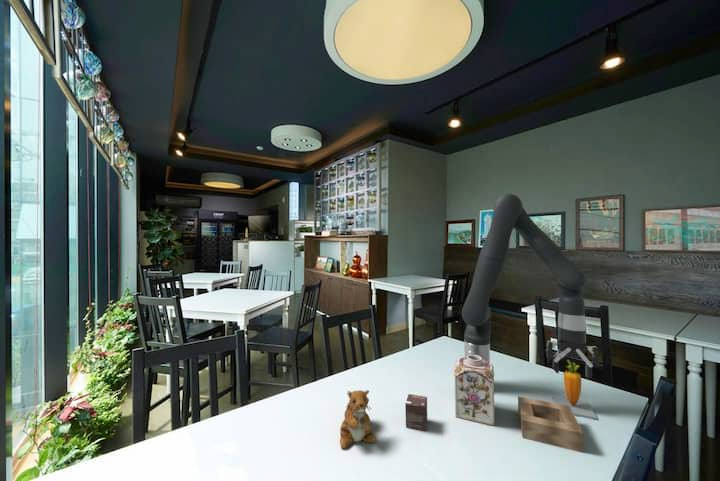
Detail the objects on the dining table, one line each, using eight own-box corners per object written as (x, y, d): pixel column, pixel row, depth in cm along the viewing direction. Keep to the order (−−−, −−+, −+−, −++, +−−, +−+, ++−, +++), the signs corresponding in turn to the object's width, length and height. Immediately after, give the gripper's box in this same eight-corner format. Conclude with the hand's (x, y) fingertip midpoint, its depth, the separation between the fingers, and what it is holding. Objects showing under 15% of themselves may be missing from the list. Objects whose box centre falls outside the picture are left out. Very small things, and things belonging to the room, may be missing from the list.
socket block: (522, 437, 80) (522, 419, 81) (518, 411, 93) (518, 396, 93) (583, 452, 75) (582, 433, 75) (570, 422, 87) (569, 406, 87)
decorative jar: (494, 407, 96) (493, 353, 96) (495, 427, 85) (494, 367, 86) (457, 399, 101) (457, 348, 101) (453, 417, 90) (453, 360, 91)
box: (427, 419, 89) (427, 396, 89) (425, 431, 83) (425, 406, 84) (408, 416, 91) (408, 393, 91) (405, 427, 85) (405, 403, 86)
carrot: (585, 411, 92) (584, 365, 92) (568, 409, 93) (567, 363, 93) (576, 402, 97) (576, 358, 97) (560, 401, 98) (560, 357, 98)
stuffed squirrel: (340, 451, 76) (340, 402, 76) (337, 419, 90) (337, 377, 90) (377, 448, 77) (376, 399, 77) (368, 417, 91) (368, 375, 91)
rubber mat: (558, 412, 93) (558, 410, 93) (552, 397, 102) (552, 395, 102) (597, 419, 88) (597, 417, 88) (587, 403, 97) (587, 401, 97)
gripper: (548, 327, 95) (549, 375, 95) (602, 332, 89) (602, 384, 89) (544, 321, 102) (545, 366, 102) (594, 326, 96) (594, 374, 96)
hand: (572, 374), depth 95 cm, fingers open, 8 cm apart
